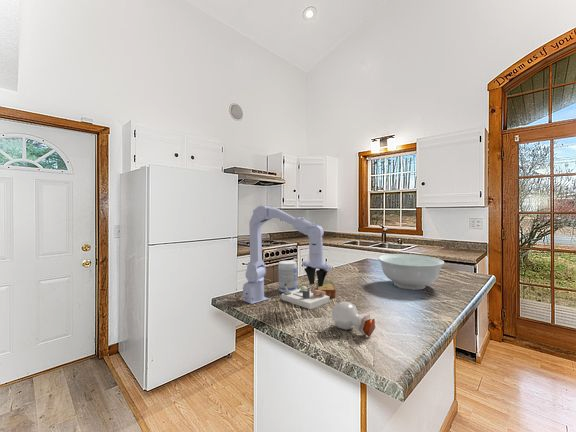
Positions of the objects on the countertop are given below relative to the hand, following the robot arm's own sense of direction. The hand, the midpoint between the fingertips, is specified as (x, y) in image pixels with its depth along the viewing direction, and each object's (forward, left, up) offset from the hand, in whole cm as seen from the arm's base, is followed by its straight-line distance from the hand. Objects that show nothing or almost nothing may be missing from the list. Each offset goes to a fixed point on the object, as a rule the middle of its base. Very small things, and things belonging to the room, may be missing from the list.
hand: (316, 285), depth 122 cm
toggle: (-2, +16, -6) cm, 17 cm away
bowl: (+60, -14, -10) cm, 62 cm away
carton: (+18, +10, -10) cm, 23 cm away
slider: (0, +6, -7) cm, 9 cm away
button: (+6, +14, -7) cm, 16 cm away
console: (+2, +9, -9) cm, 13 cm away
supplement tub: (+8, +26, -10) cm, 29 cm away
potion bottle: (-8, -24, -10) cm, 27 cm away
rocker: (+6, +4, -5) cm, 9 cm away
